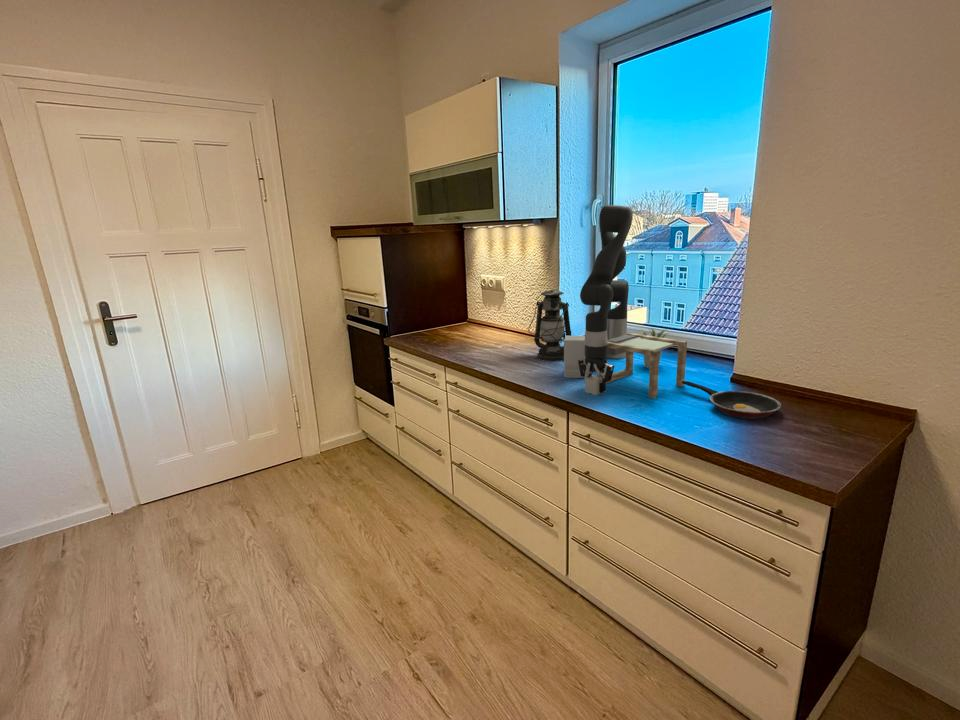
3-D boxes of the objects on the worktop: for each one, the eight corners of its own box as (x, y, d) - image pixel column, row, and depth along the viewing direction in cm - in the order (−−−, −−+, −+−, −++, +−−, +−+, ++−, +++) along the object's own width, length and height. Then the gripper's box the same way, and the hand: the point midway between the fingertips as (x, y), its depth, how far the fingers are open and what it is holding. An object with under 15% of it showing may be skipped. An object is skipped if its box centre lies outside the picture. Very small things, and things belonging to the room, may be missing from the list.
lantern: (579, 355, 215) (579, 289, 208) (559, 366, 201) (558, 294, 193) (542, 351, 226) (541, 287, 219) (521, 360, 212) (519, 293, 204)
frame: (597, 384, 175) (598, 341, 171) (628, 372, 187) (629, 332, 182) (653, 398, 158) (656, 351, 154) (684, 385, 169) (687, 341, 165)
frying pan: (753, 427, 132) (754, 415, 131) (662, 396, 160) (662, 385, 159) (794, 413, 140) (795, 401, 140) (701, 385, 168) (701, 375, 167)
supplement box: (588, 371, 191) (589, 335, 187) (587, 378, 182) (588, 340, 178) (565, 371, 193) (565, 334, 189) (563, 377, 185) (563, 339, 181)
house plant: (677, 364, 195) (679, 324, 190) (669, 373, 184) (671, 331, 179) (641, 360, 202) (643, 322, 198) (632, 369, 191) (633, 329, 187)
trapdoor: (604, 354, 173) (604, 340, 172) (627, 347, 182) (628, 334, 180) (651, 363, 159) (651, 348, 157) (674, 355, 167) (675, 341, 166)
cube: (585, 391, 167) (585, 378, 166) (594, 388, 170) (594, 375, 169) (596, 395, 164) (596, 381, 162) (605, 391, 167) (606, 378, 165)
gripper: (620, 344, 159) (619, 392, 164) (586, 338, 170) (586, 383, 175) (606, 348, 155) (605, 398, 159) (572, 342, 166) (572, 388, 170)
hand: (595, 390), depth 167 cm, fingers closed on cube, 5 cm apart
